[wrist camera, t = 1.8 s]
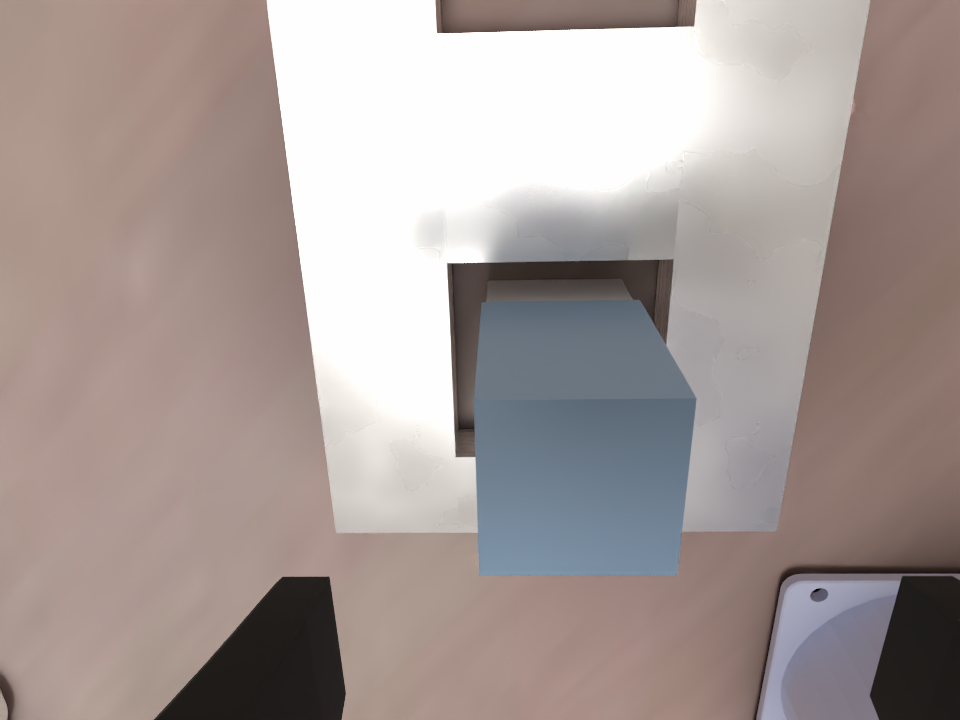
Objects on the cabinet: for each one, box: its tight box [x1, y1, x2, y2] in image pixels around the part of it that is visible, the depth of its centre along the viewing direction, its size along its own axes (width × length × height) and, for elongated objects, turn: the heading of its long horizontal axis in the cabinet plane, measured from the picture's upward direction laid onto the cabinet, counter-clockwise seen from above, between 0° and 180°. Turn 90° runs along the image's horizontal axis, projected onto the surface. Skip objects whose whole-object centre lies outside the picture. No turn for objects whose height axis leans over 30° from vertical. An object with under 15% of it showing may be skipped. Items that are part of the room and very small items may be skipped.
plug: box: [474, 279, 697, 576], centre depth 15 cm, size 4×4×7 cm
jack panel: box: [267, 0, 870, 533], centre depth 16 cm, size 12×20×2 cm, turn 1°
